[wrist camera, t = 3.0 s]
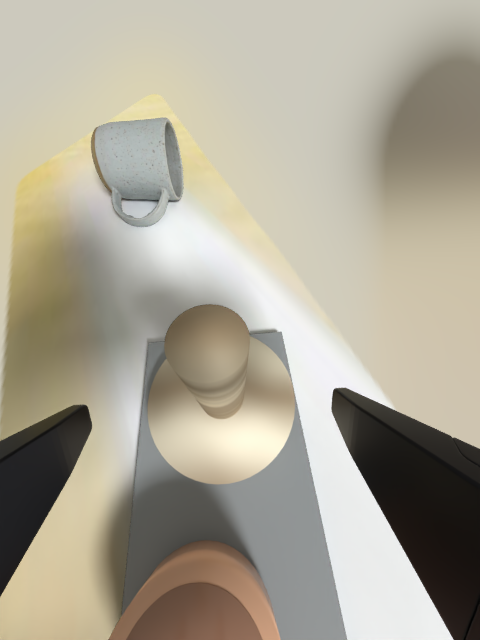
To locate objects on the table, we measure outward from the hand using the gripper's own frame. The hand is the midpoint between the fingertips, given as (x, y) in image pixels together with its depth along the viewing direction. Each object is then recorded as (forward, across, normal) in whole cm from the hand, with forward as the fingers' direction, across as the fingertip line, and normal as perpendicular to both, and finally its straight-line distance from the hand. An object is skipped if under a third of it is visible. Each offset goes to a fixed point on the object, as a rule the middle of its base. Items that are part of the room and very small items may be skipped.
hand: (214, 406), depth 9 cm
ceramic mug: (+26, +8, -12) cm, 30 cm away
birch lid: (+7, 0, +5) cm, 9 cm away
